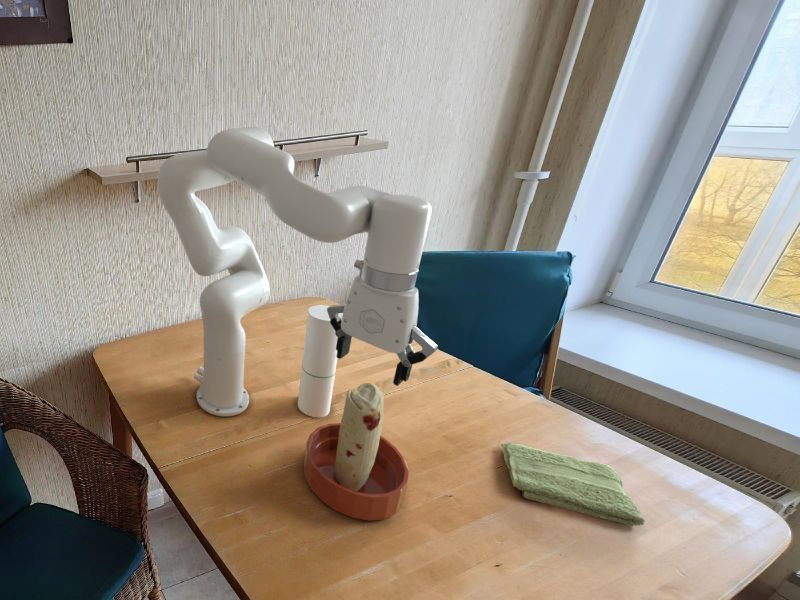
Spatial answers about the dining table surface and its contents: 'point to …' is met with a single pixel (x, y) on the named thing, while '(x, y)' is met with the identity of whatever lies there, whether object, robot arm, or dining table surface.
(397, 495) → the bowl
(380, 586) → the dining table surface
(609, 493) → the washcloth
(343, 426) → the food model
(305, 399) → the cylindrical container
